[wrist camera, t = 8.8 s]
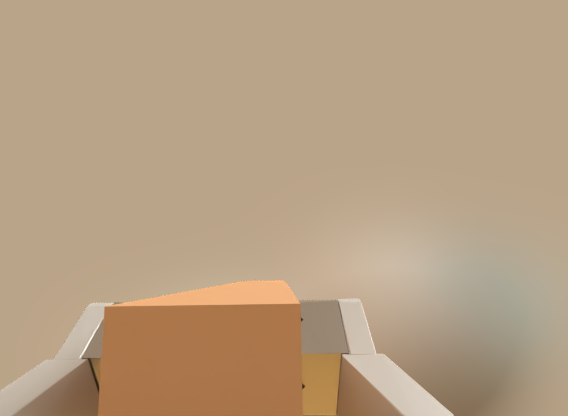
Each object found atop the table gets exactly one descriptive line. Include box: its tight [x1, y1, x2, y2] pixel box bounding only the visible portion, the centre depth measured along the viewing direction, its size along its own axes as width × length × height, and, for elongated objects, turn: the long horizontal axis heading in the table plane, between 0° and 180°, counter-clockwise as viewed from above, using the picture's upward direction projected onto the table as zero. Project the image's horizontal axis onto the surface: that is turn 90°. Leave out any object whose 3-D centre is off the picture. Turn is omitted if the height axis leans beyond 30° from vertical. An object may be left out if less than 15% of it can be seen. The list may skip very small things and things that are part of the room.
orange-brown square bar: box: [98, 280, 303, 416], centre depth 18 cm, size 24×3×3 cm, turn 0°
